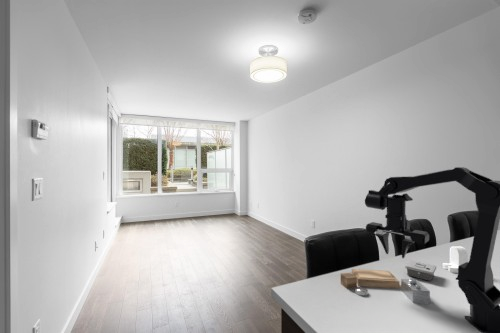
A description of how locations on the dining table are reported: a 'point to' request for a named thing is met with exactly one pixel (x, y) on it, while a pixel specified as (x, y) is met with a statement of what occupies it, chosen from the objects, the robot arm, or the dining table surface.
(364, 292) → the chrome dome knob
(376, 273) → the tan shallow rectangular tray
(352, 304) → the dining table surface
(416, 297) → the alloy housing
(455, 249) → the cable organizer
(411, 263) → the electrical switch
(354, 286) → the walnut offcut
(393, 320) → the dining table surface
